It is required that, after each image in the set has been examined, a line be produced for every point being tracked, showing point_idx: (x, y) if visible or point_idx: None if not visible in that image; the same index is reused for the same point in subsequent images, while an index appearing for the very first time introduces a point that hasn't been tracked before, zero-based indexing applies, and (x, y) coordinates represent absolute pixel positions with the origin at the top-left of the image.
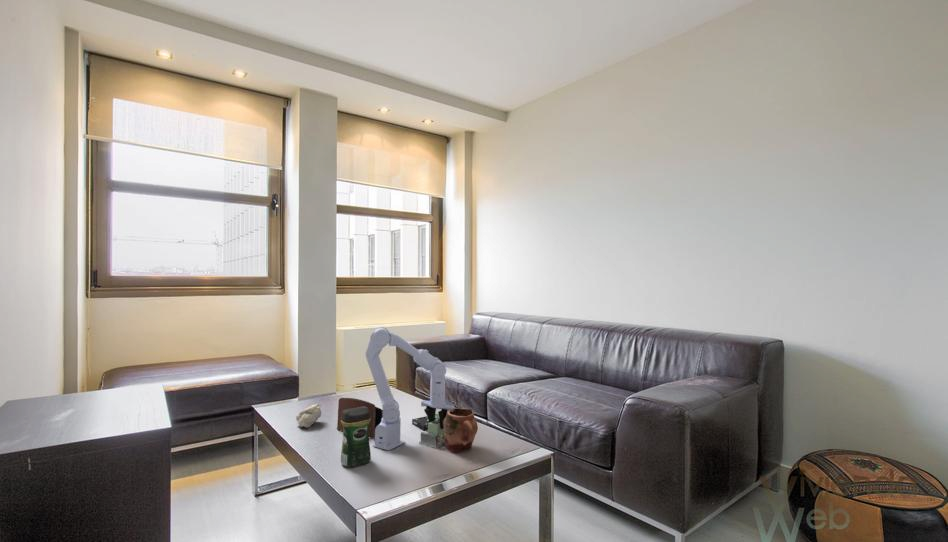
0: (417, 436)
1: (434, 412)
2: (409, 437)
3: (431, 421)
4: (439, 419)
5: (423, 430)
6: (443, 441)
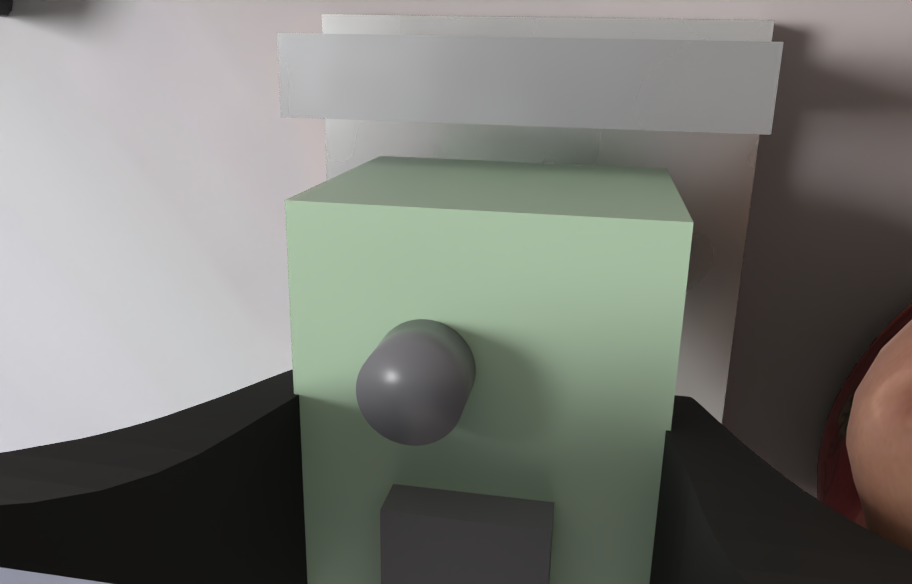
0: (122, 311)
1: (163, 558)
2: (57, 403)
3: (303, 562)
4: (455, 419)
5: (3, 13)
6: (708, 409)
